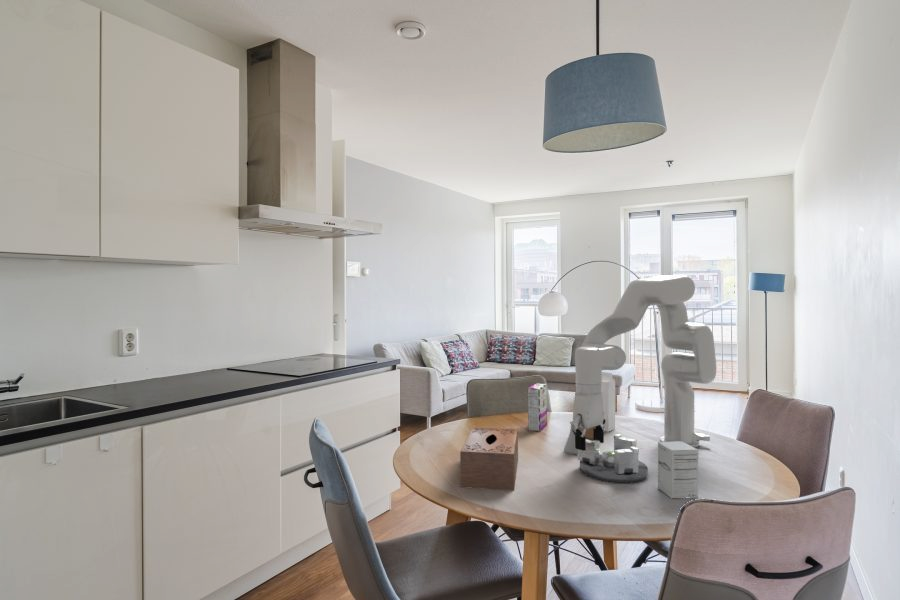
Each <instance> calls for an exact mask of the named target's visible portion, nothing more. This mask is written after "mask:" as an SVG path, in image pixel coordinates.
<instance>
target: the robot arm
mask: <svg viewBox="0 0 900 600" xmlns="http://www.w3.org/2000/svg"><path fill="white" fill-rule="evenodd" d="M695 291H696V284H695V282H694V280H693V278H691V277H690V276H689V275H685V274H683V275H682V274H680V275H679V274H678V275H677V274H676V275H655V276H654V275H651V276H648V277H646V278H639V279H634V280H632V281H631V282H630V283H628V286H627V287H626V289H625V291H624V292H623V295H622V296H621V298H620V300H619V301H618V304H617V305H616V307H615V309H614V311H613V312H612V313H611V314H609V316H607V317H605V318H604V319H603V320H601V321H600V322H599V323H597V324H596V325H595V326H594V327H593V328H591V329H590V331H589V332H588V333H587V335H586V336H585V338H584V340H583V342H582V344H581V346H579V347H577V348H576V349H575V352H574V359H575V360H574V363H575V394H574V397H573V398H574V399H573V405H572V407H573V409H572V420H571V421H572V423H571V424H570V428H571V427H572V431H573V433H574V436H575V448H576V449H579V450H583V451H585V450H586V437H584V435H585V432H586V430H587V429H590V428H593V427H595V428H593V436H594V440H593V441H595V440H598V441H600V444H604V443H605V438H604V437H605V434H604V433H605V431H604V430H602V429H604V428H605V426H604V424H605V419H606V412H604V410H603V399H602V372H603V371H616V370H619V369H621V368H622V367H623V366H624V365H625V363H626V360H627V356H626V353H625V350H624V349H622V348H621V346H617V345H614V344H605V343H607V342H608V341H609V340H611V339H612V338H614V337H617V336H620V335H623V334H626V333H628V332H631V331H634V330H635V329H637V328H638V327H639V325H640V323H641V321H642V320H643V318H644V315H645V314H646V311H647V309H648V308H649V307H650V306H656V307H657V309H658V310H659V311H658V312H659V317H660V322H661V325H660V326H661V333H662V340H663V344H664V346H665V347H666V348H668V349H671V350H679V351H685V352H678V351H677V352H675V351H673V352H669V353H667V354H665V355H664V356H663V357H662V359H661V362H660V363H661V364H660V365H661V367H660V368H661V373H662V377H663V386H664V389H663V390H664V410H663V411H664V414H663V415H664V421H663V422H664V433H663V434H664V435H662V436H660V437H659V442H674V441H682V442H684V443H686V444H688V445H690V446H692V447H694V448H696V449H697V448H698V447H699V446H700V441H703V442H710V441H711V440H710V439H711V438H710V435H707V434H706V435H705V434H704V433H697V432H696V430H695V391H694V389H693V386H692V385H691V383H697V384H705V385H706V384H707V385H708V384H711V383H713V382H714V380H715V379H716V375H717V358H716V349H715V340H714V335H713V332H712V330H711V328H710V327H709V326H708V325H706V324H704V323H700V322H690V321H689V317H688V311H687V306H686V305H685V303H684V302H688V301H689V300H691V299H692V297H694V294H695ZM686 351H687V352H686ZM688 352H689V353H688ZM690 352H693V353H690ZM581 425H583V426H581ZM579 429H582V432H581V431H580V430H579Z"/></svg>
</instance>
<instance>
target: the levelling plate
mask: <svg viewBox="0 0 900 600" xmlns="http://www.w3.org/2000/svg"><path fill="white" fill-rule="evenodd" d="M579 472H580V473H581V474H582V475H584V476H586V477H588V478H590V479H593V480H596V481H600V482H605V483H611V484H620V485H621V484H635V483H636V484H637V483H640V482H643V481H645V480H646V479H648V476H649V473H648V472H649V468H648V466H647V465H646V463H644V462H642V461H640V460H638V473H632V474H618V473H616V472H615V471H614V450H613V451H612V450H610V451H604V452H602V454H599V464H596V465H593V464H590V463H584V462H582V461H580V460H579Z"/></svg>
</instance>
